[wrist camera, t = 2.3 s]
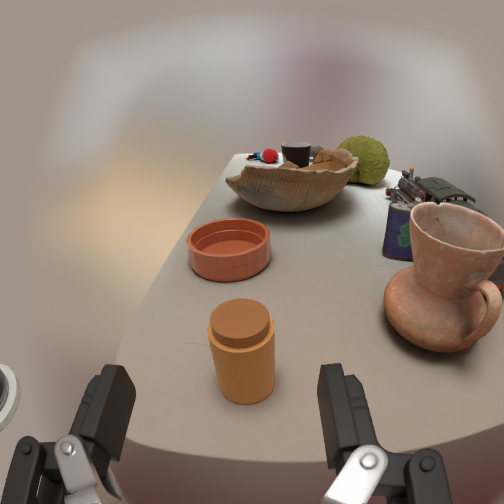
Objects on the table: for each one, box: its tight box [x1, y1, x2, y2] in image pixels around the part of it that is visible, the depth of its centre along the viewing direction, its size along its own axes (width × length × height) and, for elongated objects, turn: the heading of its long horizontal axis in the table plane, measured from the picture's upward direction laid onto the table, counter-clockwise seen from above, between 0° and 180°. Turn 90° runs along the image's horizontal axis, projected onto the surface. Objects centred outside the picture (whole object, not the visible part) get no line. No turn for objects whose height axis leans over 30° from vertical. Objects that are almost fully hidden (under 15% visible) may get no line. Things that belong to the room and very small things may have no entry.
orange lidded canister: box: [207, 299, 275, 404], centre depth 27 cm, size 6×6×9 cm
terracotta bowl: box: [186, 218, 271, 282], centre depth 49 cm, size 13×13×4 cm
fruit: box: [336, 136, 390, 184], centre depth 79 cm, size 16×14×15 cm
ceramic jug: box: [384, 202, 504, 352], centre depth 29 cm, size 18×14×14 cm
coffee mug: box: [281, 142, 311, 168], centre depth 87 cm, size 12×9×10 cm
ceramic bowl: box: [226, 149, 359, 212], centre depth 66 cm, size 30×27×15 cm
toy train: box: [386, 167, 504, 294], centre depth 51 cm, size 45×9×11 cm, turn 179°
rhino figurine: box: [310, 146, 330, 162], centre depth 103 cm, size 4×14×6 cm, turn 50°
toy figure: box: [246, 149, 279, 163], centre depth 107 cm, size 8×5×15 cm
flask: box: [382, 197, 423, 261], centre depth 44 cm, size 9×3×11 cm, turn 74°
